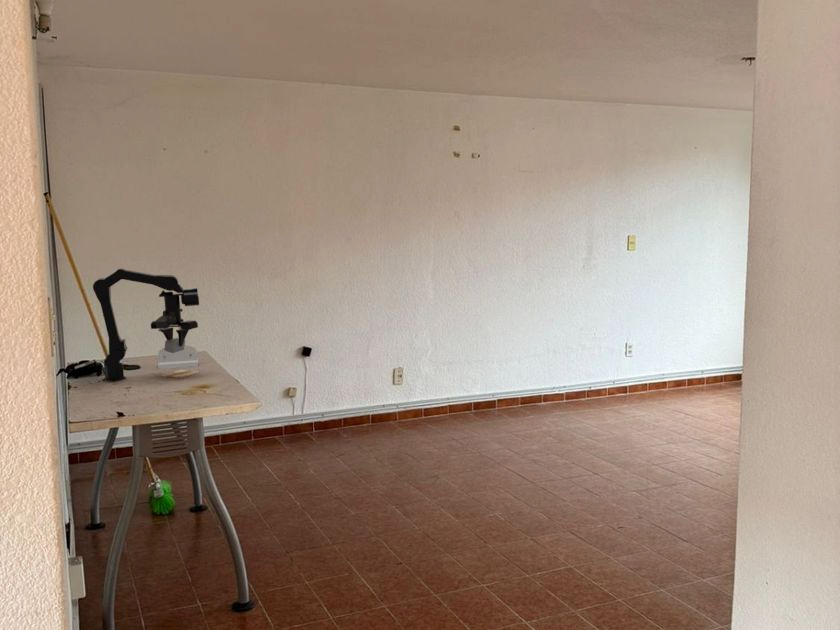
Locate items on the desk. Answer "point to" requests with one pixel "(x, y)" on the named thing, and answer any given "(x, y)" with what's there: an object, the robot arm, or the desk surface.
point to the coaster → (180, 373)
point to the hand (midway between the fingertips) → (175, 346)
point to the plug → (173, 345)
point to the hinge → (178, 358)
